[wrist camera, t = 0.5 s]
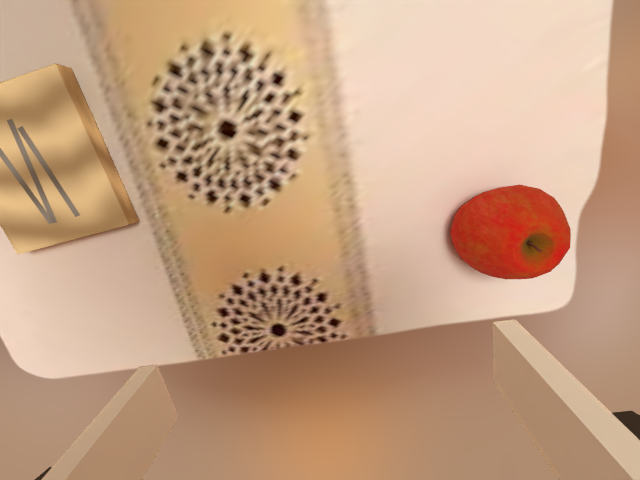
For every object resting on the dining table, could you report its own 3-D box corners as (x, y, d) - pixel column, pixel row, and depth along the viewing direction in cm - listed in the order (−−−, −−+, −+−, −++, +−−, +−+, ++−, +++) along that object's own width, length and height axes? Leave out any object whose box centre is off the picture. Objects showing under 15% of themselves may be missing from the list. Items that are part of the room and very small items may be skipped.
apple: (511, 164, 34) (584, 171, 24) (543, 238, 37) (621, 272, 27) (429, 209, 36) (465, 233, 26) (464, 276, 39) (509, 322, 29)
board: (-47, 108, 35) (-69, 106, 34) (71, 68, 34) (55, 63, 32) (32, 249, 40) (17, 254, 38) (139, 220, 38) (128, 224, 37)
